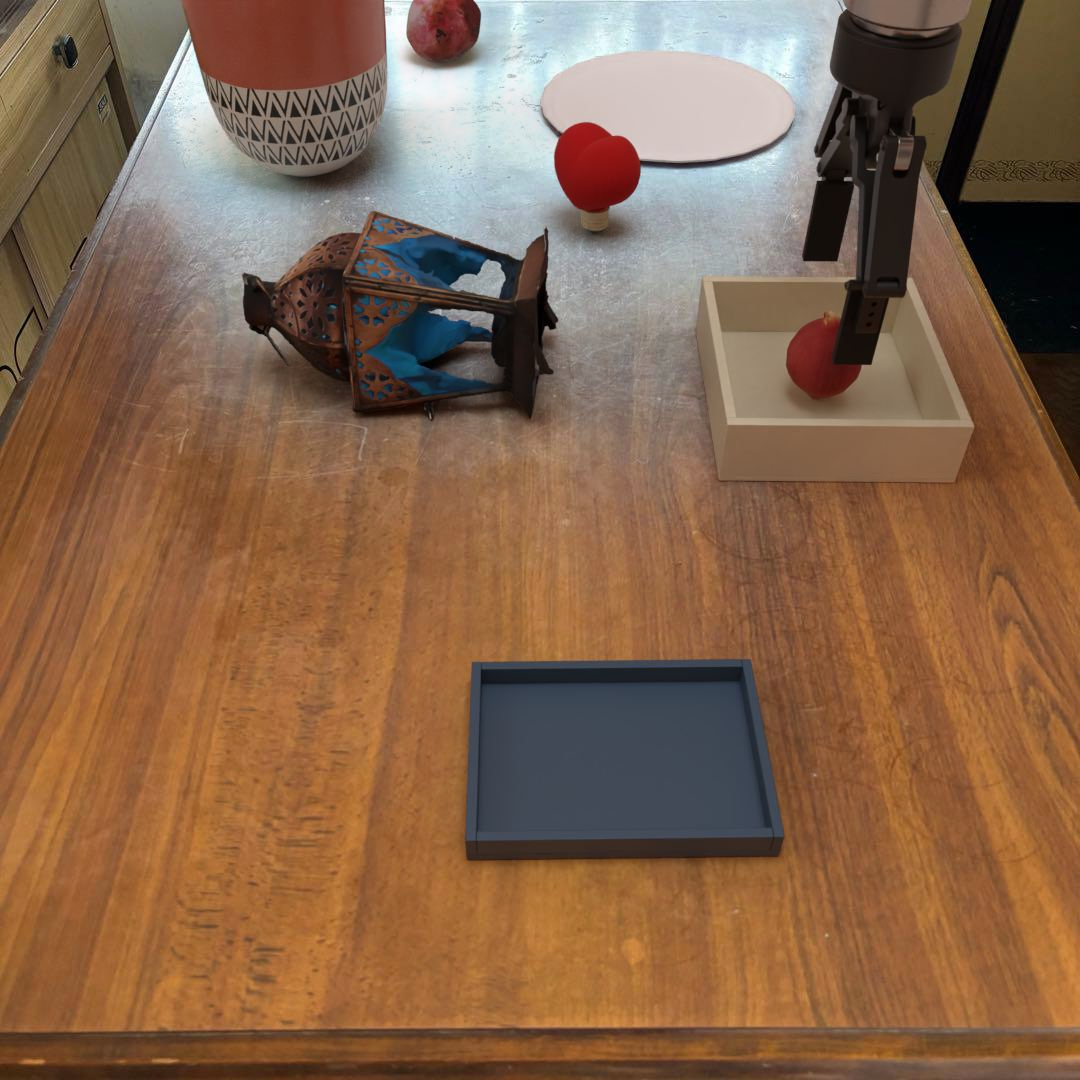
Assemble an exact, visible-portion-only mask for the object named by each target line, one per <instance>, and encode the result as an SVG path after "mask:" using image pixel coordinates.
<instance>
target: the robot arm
mask: <svg viewBox="0 0 1080 1080" xmlns="http://www.w3.org/2000/svg"><path fill="white" fill-rule="evenodd" d="M972 1H973V0H842V3H843V5H844V7H845V8H846V9H844V11H842V12H841V13H840V15H839V16H838V18H837V23H836V27H835V35H834V39H833V46H832V50H831V54H830V60H829V71H830V73H831V76H832V78H833V79H834V80H835V81H836V82H837V85H836V87H835V91H834V93H833V96H832V99H831V101H830V104H829V107H828V109H827V112H826V115H825V118H824V120H823V123H822V126H821V128H820V132H819V134H818V137H817V139H816V142H815V145H814V147H813V154H814V157H815V158H816V159H817V158H818V159H819V160H818V162H817V165H816V173H817V174H816V175H817V177H818V178H821V179H820V180H816V183H815V188H814V194H813V199H812V203H811V209H810V214H809V219H808V224H807V228H806V234H805V239H804V244H803V249H802V254H801V258H802V262H827V263H828V262H830V263H832V262H835V263H836V262H837V263H838V260H839V256H840V252H841V248H842V243H843V239H844V234H845V229H846V225H847V221H848V216H849V212H850V208H851V207H850V206H851V203H852V199H853V194H854V189H855V186H856V187H857V189H858V209H857V210H858V211H857V212H858V213H857V239H856V263H855V264H856V265H855V277H856V279H850V280H849V281H847V282H845V283H844V286H845V290H846V291H847V295H846V299H845V303H844V307H843V312H842V316H841V320H840V324H839V328H838V333H837V337H836V341H835V345H834V350H833V354H832V358H831V359H832V362H833V365H872V361H873V357H874V353H875V350H876V346H877V342H878V339H879V335H880V331H881V328H882V324H883V320H884V316H885V313H886V309H887V305H888V302H889V298H903V297H904V296H905V294H906V290H907V278H909V277H908V276H909V268H910V260H911V250H912V243H913V242H912V241H913V235H914V234H913V233H914V224H915V216H916V208H917V200H918V199H917V198H918V190H919V180H920V175H921V170H922V165H923V162H924V158H925V153H926V149H927V144H928V143H927V139H926V135H916V125H917V122H916V121H917V120H916V116H915V115H913V114H914V110H913V109H914V107H915V105H916V104H917V103H918V102H920V101H921V100H923V99H925V98H927V97H929V96H930V97H931V96H933V95H936V94H937V93H939V92H940V91H942V90H943V89H944V88H946V86H947V84H948V83H949V81H950V78H951V74H952V71H953V68H954V64H955V59H956V56H957V53H958V49H959V45H960V42H961V38H962V33H963V29H962V27H961V25H960V23H961V22H962V21H964V20H965V18H966V17H967V16H968V14H969V13H970V8H971V5H972ZM845 178H851V180H845Z"/></svg>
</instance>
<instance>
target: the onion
mask: <svg viewBox="0 0 1080 1080" xmlns="http://www.w3.org/2000/svg"><path fill="white" fill-rule="evenodd" d="M840 320H841V319H840V318H839V317H838V316H837V314H836V313H835V312H832V311H827V312H824V318H819V319H816V320H814V321H812V322H810V323H808V324H806V325H804V326H803V327H802V328H801V329H800V330H799V331H798V332H797V333H796V335H795V336H794V337H793V339H792V340H791V341H790V343H789V346H788V348H787V358H786V368H787V371H788V374H789V376H790V377H791V379H792V381H793V382H794V383H795V384H796V385H797V386H798V387H799V388H800V389H802V390H803V391H804V392H805V393H806V394H807V395H808V396H809V397H811V398H813V399H820V398H830V397H833V396H836V395H838V394H840V393H842V392H844V391H845V390H846V389H847V388H848V387H849V386H850V385H851V384H852V383H853V382H854V381H855V380H856V379H857V378H858V376H859V373H860V371H861V367H862V365H833V362H832V359H831V358H832V354H833V350H834V345H835V341H836V337H837V333H838V328H839V324H840Z"/></svg>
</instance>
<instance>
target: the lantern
mask: <svg viewBox="0 0 1080 1080" xmlns="http://www.w3.org/2000/svg"><path fill="white" fill-rule="evenodd" d="M542 229H543V234H541V235H539V236H538V237H536V238H535V239H534V240H533V241H531V242H530V244H529V246H528V247H527V248H526V249H525V255H524V257H523V258H522V259H518V258H516V257H513V256H512V255H510V254H508V253H503V252H500V251H497V250H494V249H491V248H488V247H485V246H483V245H481V244H477V243H473V242H471V241H469V240H466V239H462V238H459V237H453V236H452V235H450V234H447V233H444V232H441V231H438V230H435V229H432V228H429V227H427V226H423V225H420V224H417V223H413V222H409V221H407V220H405V219H401V218H399V217H394V216H391V215H388V214H385V213H383V212H380V211H375V210H370V212H369V213H368V214H367V219H366V221H365V223H364V225H363V227H362V231H361V232H352V231H349V232H348V231H347V232H340V233H337V234H334V235H330V236H328V237H326V238H325V239H322V240H321V241H319V242H317V243H316V244H315V245H314V246H313V247H311V248H309V250H308V251H306V253H305V254H304V255H302V256H301V257H300V258H299V259H298V261H296V262H295V263H294V264H293V265H292V267H290V268H289V270H288V271H287V272H286V273H285V274H284V275H283V276H282V277H281V278H280V279H278V280H277V281H267V280H262V279H261V277H260V276H258V275H254V274H252V273H247V272H242V273H241V277H242V281H243V296H242V310H243V317H244V321H245V322H246V324H247V325H248V328H249V330H250V331H253V332H254V333H256V334H258V335H263V336H264V337H266V339H267V340H268V341H269V344H270V345H271V347H272V348H273V350H274V351H275V352H276V353H277V355H278V356H279V357H280V358H281V360H282V361H283V362H284V363H285V364H286V366H289V367H290V366H292V362H290V361H288V359H287V358H286V357H285V356H284V354H283V353H282V351H281V349H280V347H279V346H278V344H276V343H275V341H274V339H273V338H272V337H271V335H270V331H271V328H273V329H275V330H276V331H277V332H278V333H279V334H280V335H281V336H282V337H283V339H284V340H286V341H287V342H288V344H289V345H291V346H292V347H293V348H294V349H295V350H296V351H297V352H298V353H299V355H301V356H302V357H303V358H304V360H306V361H307V362H308V363H309V364H310V365H311V366H312V367H313V368H314V369H316V370H317V371H319V372H320V373H322V374H323V375H325V376H327V377H329V378H331V379H333V380H335V381H339V382H341V383H350V388H351V389H350V390H351V408H352V412H353V413H354V414H363V413H369V412H374V411H382V410H389V409H398V408H404V407H406V406H409V405H418V404H421V403H422V404H424V406H423V410H424V411H427V412H428V413H427V415H428V419H429V420H430V421H433V420H434V416H435V411H434V408H433V405H434V404H435V403H439V402H441V401H447V400H455V399H458V398H464V397H472V396H473V397H474V396H480V395H484V394H496V393H508V394H510V395H511V397H512V398H513V399H514V400H515V401H516V402H517V403H518V404H519V406H521V408H522V409H523V412H524V413H525V414H526V416H527V417H528V419H529V420H531V419H532V417H533V413H534V407H535V400H536V394H537V393H536V392H537V388H538V387H537V386H538V382H539V380H540V376H543V375H549V376H552V375H553V376H554V374H555V371H554V370H553V368H551V367H550V365H549V363H548V360H547V359H546V357H545V355H544V352H543V351H544V341H543V336H544V332H545V329H546V327H548V329H549V331H553V330H556V329H557V323H558V322H559V317H558V316H557V315H556V313H555V311H554V310H553V308H552V306H551V305H550V303H549V301H548V300H549V295H548V291H547V281H548V275H549V272H548V268H549V245H550V242H549V229H548V226H546V225H544V226H542ZM488 260H489V261H490V262H495V263H498V264H499V265H500V270H501V272H502V273H503V274H504V277H505V278H504V279H505V280H504V281H503V284H502V286H501V287H500V292H499V296H498V297H493V296H488V295H484V294H477V293H476V292H472V291H466V290H464V289H461V290H456V289H455V288H453V287H451V286H452V285H453V284H454V283H457V282H458V281H459V279H460V278H461V277H462V276H464V275H475V276H478V274H480V272H481V270H482V267H483V265H484V264H485V263H486V261H488ZM436 310H440V311H451V310H456V311H468V312H483V313H486V314H488V315H489V314H490V315H493V319H492V323H491V326H490V327H491V329H490V330H491V331H490V330H489V329H488V328H486V327H483V326H476V325H475V326H474V325H471V324H472V322H471V321H468V320H464V319H461V318H460V319H458V320H450V319H449V318H448V317H447V316H446V315H441V314H440V313H433V312H434V311H436ZM466 342H467V343H468V342H470V343H480V342H481V343H490V353H491V357H492V359H493V360H494V364H495V365H496V366H498V367H499V368H503V378H502V382H498V383H494V382H486V381H485V380H480V379H476V378H474V379H468V378H463V377H458V376H456V375H451V374H449V373H447V372H445V371H444V370H442V371H441V370H440V371H435V370H432V369H430V367H426V366H423V365H421V364H422V363H425V362H429V361H431V360H433V359H436V358H438V357H440V356H442V355H444V354H445V353H447V352H449V351H450V350H453V349H454V348H455V347H457V346H459V345H462V344H464V343H466Z"/></svg>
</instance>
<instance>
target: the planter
mask: <svg viewBox="0 0 1080 1080" xmlns="http://www.w3.org/2000/svg"><path fill="white" fill-rule="evenodd" d="M180 2H181V6H182V9H183V13H184V17H185V20H186V24H187V28H188V32H189V36H190V39H191V43H192V47H193V51H194V54H195V57H196V60H197V64H198V68H199V72H200V75H201V79H202V82H203V87H204V89H205V93H206V95H207V98H208V101H209V104H210V106H211V108H212V111H213V113H214V115H215V117H216V119H217V121H218V123H219V125H220V126H221V127H220V128H222V130H223V131H224V133H225V135H226V136H227V138H228V139H229V141H231V143H232V144H233V145H234V146H235V147H236V148H237V149H238V150H239V151H240V152H241V153H243V154H244V155H245V156H246V157H248V158H249V159H250V160H252V161H254V162H255V163H256V164H259V165H260V166H261V167H263V168H266V169H268V170H270V171H272V172H276V173H278V174H282V175H285V176H290V177H291V176H293V177H315V176H316V177H317V176H321V175H326V174H328V173H332V172H336V171H337V170H339V169H341V168H344V167H345V166H347V165H348V164H350V163H351V162H352V161H353V160H355V159H356V158H358V156H359V155H360V154H361V153H362V152H364V150H365V149H366V148H367V147H368V145H369V144H370V143H371V141H372V140H373V138H374V137H375V135H376V133H377V132H378V130H379V127H380V125H381V122H382V119H383V115H384V112H385V107H386V100H387V92H388V52H387V51H388V49H387V23H386V21H387V20H386V4H385V0H180Z"/></svg>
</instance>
